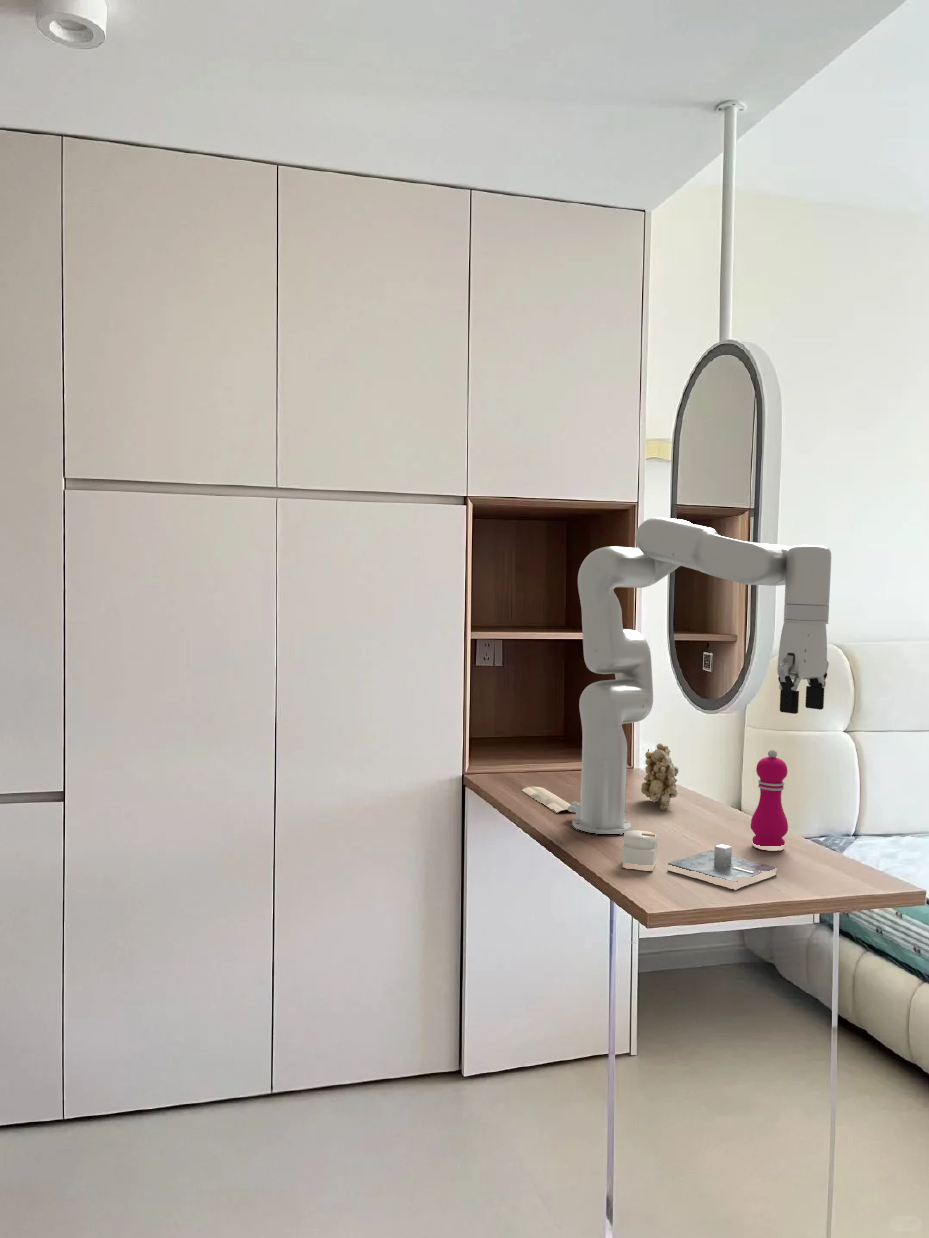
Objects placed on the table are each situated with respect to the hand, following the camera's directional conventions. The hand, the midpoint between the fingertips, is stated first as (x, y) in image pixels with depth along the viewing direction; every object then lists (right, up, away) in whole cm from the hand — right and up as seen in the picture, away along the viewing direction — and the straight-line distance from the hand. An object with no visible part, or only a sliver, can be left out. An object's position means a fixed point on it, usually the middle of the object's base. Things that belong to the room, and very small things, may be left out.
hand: (801, 710), depth 174 cm
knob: (-28, -30, +7) cm, 41 cm away
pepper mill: (+1, -30, +23) cm, 38 cm away
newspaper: (-40, -28, +58) cm, 76 cm away
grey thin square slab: (-13, -30, +5) cm, 33 cm away
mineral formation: (-14, -28, +57) cm, 65 cm away
